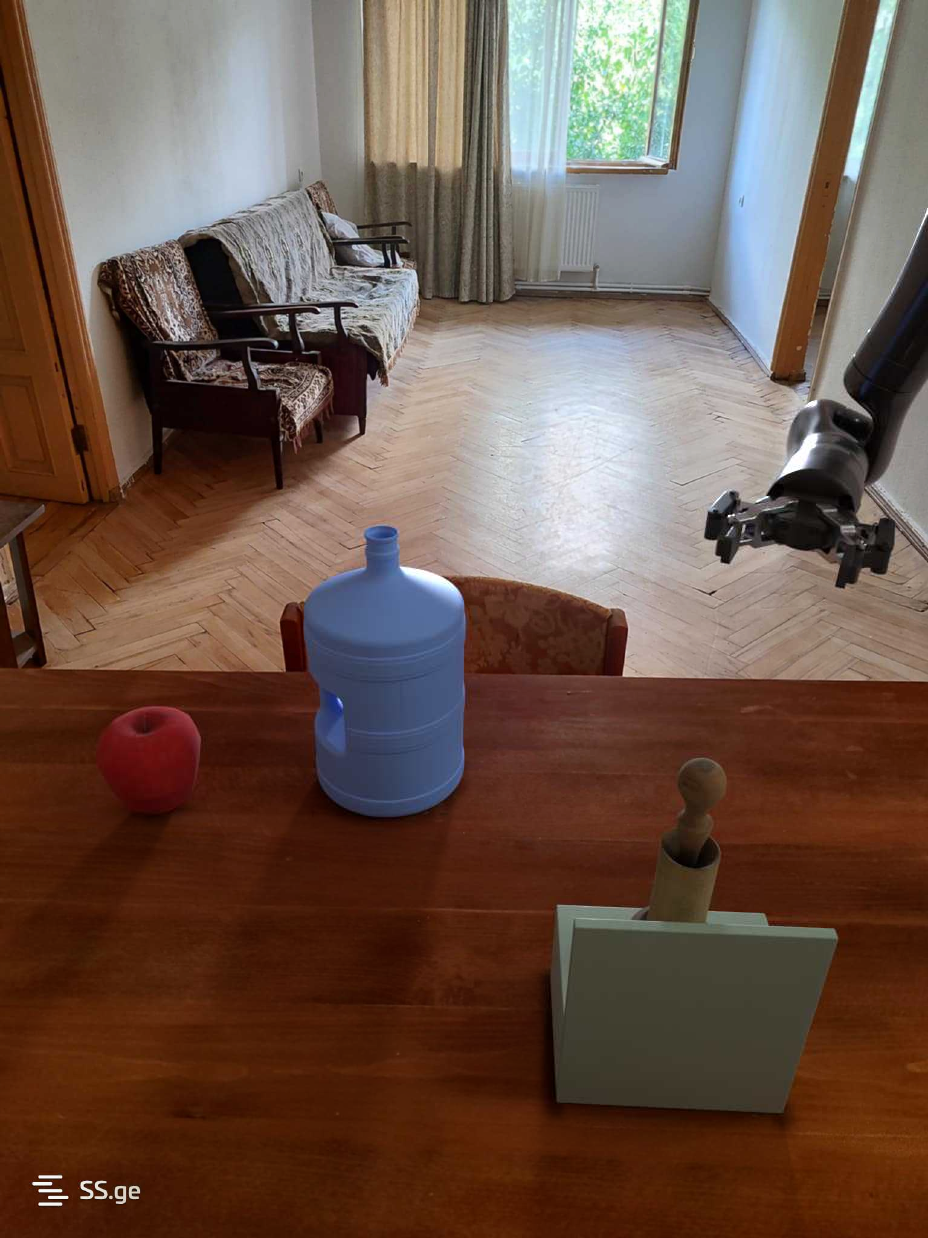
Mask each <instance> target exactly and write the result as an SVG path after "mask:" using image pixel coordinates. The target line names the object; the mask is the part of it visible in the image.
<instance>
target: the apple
mask: <svg viewBox="0 0 928 1238" xmlns="http://www.w3.org/2000/svg"><path fill="white" fill-rule="evenodd" d="M201 741H202V737H201V735H200V732H199V730H198V728H197V726H196V724H195V722H194V721H193V719H192V718H191V716H190V714H188V713H186V712H184V711H182V710H180V709H179V708H178V709H177V708H175V707H170V706H162V705H159V706H158V705H153V706H151V705H150V706H145V707H144V706H143V707H139V708H137V709H133V710H131V711H130V710H129V711H128V712H126V713H124V714H122V715H121V716H118V717H117V718H115V719H114V720H113V721H112V722H111V723H110V724H109V725H108V726H107V727H106V728H104V730H102V732H101V733H100V734H99V737H98V741H97V744H96V751H95V752H96V753H95V756H94V762H95V764H96V766H97V768H98V770H99V772H100V774H101V775H102V777H103V779H104V781H105V783H106V784H107V786H108V787H109V789H110V790H111V792H112V793H113V794H114V795H115V796H116V797H117V799H119V801H120V802H121V803H122V804H123V805H124V807H126V808H127V809H129V810H131V811H132V812H134V813H141V814H146V815H147V814H149V815H162V814H165V813H168V812H171V811H173V810H174V809H176V808H177V807H179V806H180V805H181V804H183V803H185V802H186V801H187V800H188V799H189V797H190V796H191V794H192V792H193V791H194V789H195V783H196V780H197V775H198V771H199V765H200V764H199V763H200V755H201V744H202V742H201Z"/></svg>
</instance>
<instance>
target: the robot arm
mask: <svg viewBox="0 0 928 1238" xmlns="http://www.w3.org/2000/svg"><path fill="white" fill-rule="evenodd" d="M927 381H928V209H927V210H926V213H925V215H924V217H923V219H922V223H921V225H920V227H919V229H918V232H917V234H916V237H915V240H914V242H913V244H912V247H911V249H910V251H909V254H908V256H907V258H906V260H905V263H904V265H903V268H902V269H901V272H900V274H899V275H898V278H897V280H896V282H895V284H894V286H893V288H892V290H891V292H890V294H889V295H888V298H887V299H886V301H885V303H884V305H883V306H882V308H881V310H880V311H879V313H878V315H877V317H876V318H875V319H874V321H873V323H872V325H871V326H870V328H869V329H868V331H867V333H866V334H865V336H864V338H863V339H862V341H861V343H860V345H859V346H858V348H857V349H856V351H855V352H854V354H853V356H852V357H851V359H850V361H849V362H848V364H847V366H846V368H845V370H844V372H843V376H842V385H843V388H844V390H845V392H846V393H847V395H848V396H849V397H850V398H851V399H852V400H853V401H854V402H855V403H857V405H859V406H860V407H861V408H862V409H863V410H865V412H867V414H869V416H867V415H865V414H863V413H861V412H859V411H857V410H854V409H853V408H850V407H848V406H847V405H845V404H843V403H841V402H838V401H836V400H833V399H830V398H820V399H819V398H818V399H814V400H812V401H811V402H808V403H807V404H806V405H804V406H803V407H802V408H801V410H799V411H798V412H797V414H796V415H795V417H794V419H793V420H792V422H791V424H790V426H789V428H788V432H787V436H786V441H785V454H786V460H787V461H786V463H785V464H784V465H783V466H782V468H781V469H780V470H779V473H778V474H777V476H776V477H775V479H774V481H773V483H772V484H771V486H770V487H769V489H768V491H767V492H766V495H765V496H764V497H763V498H759V499H758V500H756V501H755V502H754V503H752V502H747V501H742V499H741V497H740V492H739V491H737V490H733V489H729V490H728V489H727V490H725V491H724V492H723V493H722V494H721V495H720V496H719V497H718V499H716V500H715V502H714V503H713V504H712V505H711V506H710V507H709V508H708V509H707V514H706V520H705V527H704V533H703V538H704V539H705V540H706V541H716V544H715V550H714V555H715V557H720V561H719V562H720V563H721V564H725V565H731V563H732V562H733V560H734V558H735V556H736V555H737V553H738V552H739V549H740V548H741V547H744V546H749V547H750V548H753V549H755V550H756V549H761V548H765V547H768V546H774V545H778V546H786V547H788V548H791V549H793V550H796V551H802V552H811V553H817V555H819V556H820V557H821V558H822V559H824V560H825V561H826V562H827V563H828V564H831V565H833V564H834V565H835V564H838V565H839V568H838V572H837V576H836V581H835V584H834V585H835V586H834V587H835V588H837V589H843V590H845V589H846V587H847V584H849V585H855V584H857V583H858V580H859V577H860V573H862V569H869V571H870V572H871V573H873V574H875V575H880V576H881V575H882V576H883V575H886V574H887V573H888V569H889V564H890V563H889V562H890V560H891V556H892V552H893V551H894V548H895V541H896V520H894V519H893V518H890V517H881V518H879V521H878V522H877V521H875V522H873V523H872V524H870V523H869V524H868V523H862V522H860V520H859V518H858V517H857V515H858V512H859V510H860V509H861V506H862V499H863V496H864V492H865V491H864V490H865V488H867V487H870V486H872V485H874V484H875V483H876V482H878V481H879V480H880V479H881V478H882V477H883V476H884V475H885V473H886V472H887V470H888V468H889V466H890V464H891V462H892V459H893V456H894V454H895V450H896V447H897V443H898V440H899V437H900V433H901V430H902V428H903V427H902V426H903V425H904V421H905V419H906V417H907V415H908V412H909V411H910V408H911V406H912V405H913V403H914V401H915V399H916V398H917V396H918V395H919V393H920V392H921V390H922V388H923V387H924V386H925V384H926V383H927ZM743 527H744V531H743Z"/></svg>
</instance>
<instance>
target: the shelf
mask: <svg viewBox="0 0 928 1238" xmlns="http://www.w3.org/2000/svg"><path fill="white" fill-rule="evenodd" d="M641 909H642V907H641V908H640V907H639V908H638V907H616V906H615V907H613V906H592V905H591V906H590V905H589V906H588V905H568V904H567V905H565V904H557V905H556V909H555V918H554V929H553V941H552V954H551V964H550V976H549V977H550V996H551V1015H552V1016H551V1018H552V1036H553V1037H552V1038H553V1057H554V1059H553V1060H554V1077H555V1097H556V1103H559V1104H560V1103H561V1104H581V1105H600V1106H602V1105H603V1106H621V1107H622V1106H623V1107H641V1108H642V1107H643V1108H662V1109H663V1108H664V1109H683V1110H704V1111H705V1110H707V1111H709V1110H710V1111H726V1112H744V1113H745V1112H747V1113H766V1114H767V1113H768V1114H783V1113H784V1110H785V1106H786V1104H787V1101H788V1097H789V1095H790V1092H791V1089H792V1085H793V1082H794V1079H795V1076H796V1072H797V1069H798V1066H799V1063H800V1060H801V1057H802V1053H803V1050H804V1048H805V1045H806V1041H807V1038H808V1034H809V1032H810V1030H811V1029H810V1028H811V1025H812V1022H813V1019H814V1017H815V1013H816V1010H817V1007H818V1003H819V1001H820V998H821V994H822V991H823V988H824V984H825V982H826V980H827V979H826V978H827V975H828V973H829V970H830V966H831V963H832V960H833V956H834V954H835V950H836V947H837V944H838V941H839V937H838V934H837V932H836V929H835V928H823V927H822V928H821V927H801V926H800V927H798V926H778V925H777V926H776V925H775V926H774V925H769V923H768V920H767V917H766V914H765V913H759V912H734V911H712V910H711V911H710V910H708V914H707V918H706V922H707V923H708V924H706V923H682V922H658V921H634V920H631V919H632V917H633V916H634V915H635V914H636V913H637V912H638V911H640V910H641Z"/></svg>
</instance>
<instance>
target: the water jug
mask: <svg viewBox="0 0 928 1238" xmlns="http://www.w3.org/2000/svg"><path fill="white" fill-rule="evenodd" d="M399 536H400V532H399V529H397V528H396V527H394V526H390V525H374V526H371V527H368V528H366V529H365V530H364V532H363V537H364V539H365V541H366V543H365V544H366V545H365V548H364V555H365V558H366V560H365V561H366V567H361V568H355V569H352V570H348V571H345V572H341V573H338V574H337V575H334V576H332V577H330V578H328V579H326V580H324V581H322V582H321V583H320V584H318V585H317V586H316V587H315V588H314V589H313V590H312V591H310V593H309V595H308V596H307V597H306V600H305V601H304V602H305V603H304V605H303V618H304V619H303V637H304V644H305V649H306V652H307V663H308V670H309V673H310V675H311V677H312V678H313V680H314V681H315V683H316V684H317V685H318V694H319V704H320V705H319V707H318V709H317V711H316V714H315V717H314V725H313V729H314V739H315V748H316V754H315V755H316V756H315V766H316V774H317V779H318V782H319V785H320V786H321V788H322V790H323V791H324V793H325V794H326V796H328V798H330V800H332V801H333V802H334V803H335V804H337V805H338V806H340V807H342V808H343V809H346V810H348V811H350V812H351V813H355V814H359V815H362V816H366V817H374V818H399V817H406V816H407V817H408V816H411V815H416V814H419V813H421V812H422V813H423V812H424V811H427V810H429V809H431V808H433V807H435V806H436V805H438V804H441V803H442V802H443V801H445V800H446V799H447V798H448V797H450V795H451V794H452V793H453V792H454V791H455V790H456V788H457V787H458V785H459V783H460V782H461V780H462V778H463V775H464V769H465V749H464V713H465V704H466V689H465V683H464V679H465V678H464V677H465V673H464V672H465V671H464V669H465V668H464V667H465V642H466V631H467V630H466V626H467V623H466V613H465V601H464V598H463V595H462V594H461V592H460V591H459V589H458V588H457V586H455V584H453V583H452V582H450V581H449V580H448V579H446V578H444V577H442V576H441V575H439V574H436V573H434V572H431V571H427V570H425V569H424V570H423V569H419V568H416V567H408V566H401V565H400V546H399V544H398V538H399Z"/></svg>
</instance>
